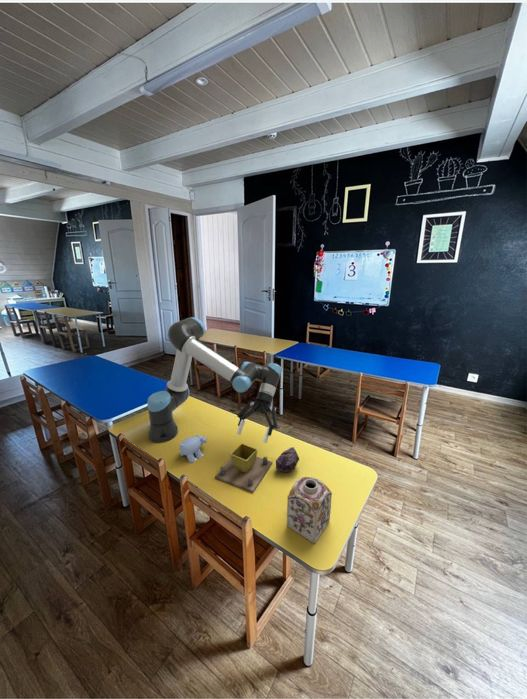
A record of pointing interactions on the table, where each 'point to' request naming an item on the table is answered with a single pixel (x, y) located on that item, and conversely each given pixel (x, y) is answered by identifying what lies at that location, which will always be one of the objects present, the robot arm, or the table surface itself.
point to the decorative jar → (309, 507)
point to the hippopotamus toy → (192, 447)
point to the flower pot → (243, 457)
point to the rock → (287, 460)
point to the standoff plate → (244, 474)
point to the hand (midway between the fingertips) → (251, 438)
